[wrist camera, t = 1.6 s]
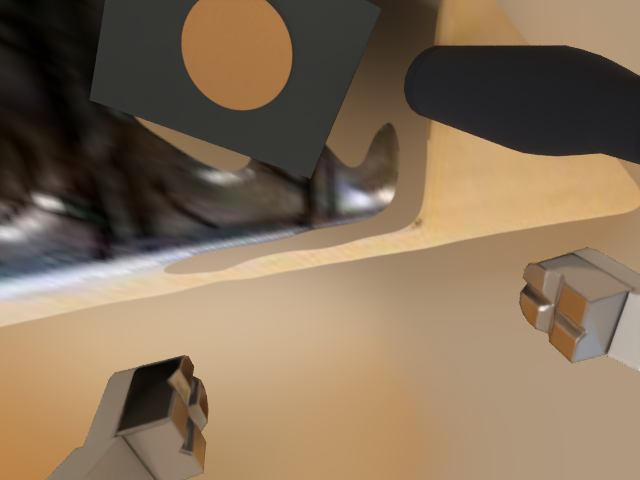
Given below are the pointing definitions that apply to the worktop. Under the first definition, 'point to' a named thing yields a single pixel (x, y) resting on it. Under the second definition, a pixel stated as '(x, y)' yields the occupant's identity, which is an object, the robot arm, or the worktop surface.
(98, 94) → the centre mat
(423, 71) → the wine bottle
